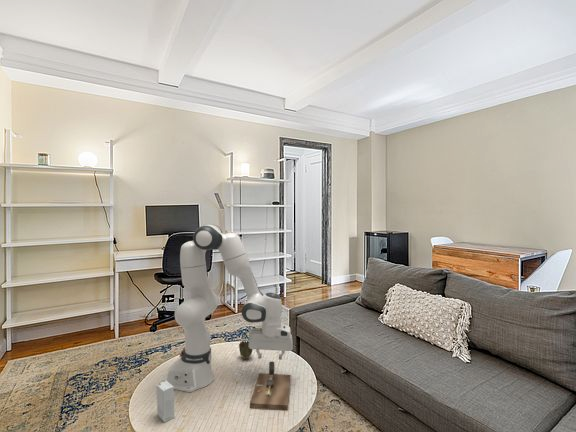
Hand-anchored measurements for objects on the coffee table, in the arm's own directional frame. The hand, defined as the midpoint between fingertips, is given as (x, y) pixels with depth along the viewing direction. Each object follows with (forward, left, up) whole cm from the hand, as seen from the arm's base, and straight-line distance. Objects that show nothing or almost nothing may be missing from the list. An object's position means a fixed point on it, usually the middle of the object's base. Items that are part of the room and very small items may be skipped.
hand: (270, 358), depth 143 cm
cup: (-15, +19, -11) cm, 26 cm away
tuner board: (+2, -9, -10) cm, 14 cm away
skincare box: (-36, -28, -11) cm, 47 cm away
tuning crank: (+1, -7, -8) cm, 11 cm away
